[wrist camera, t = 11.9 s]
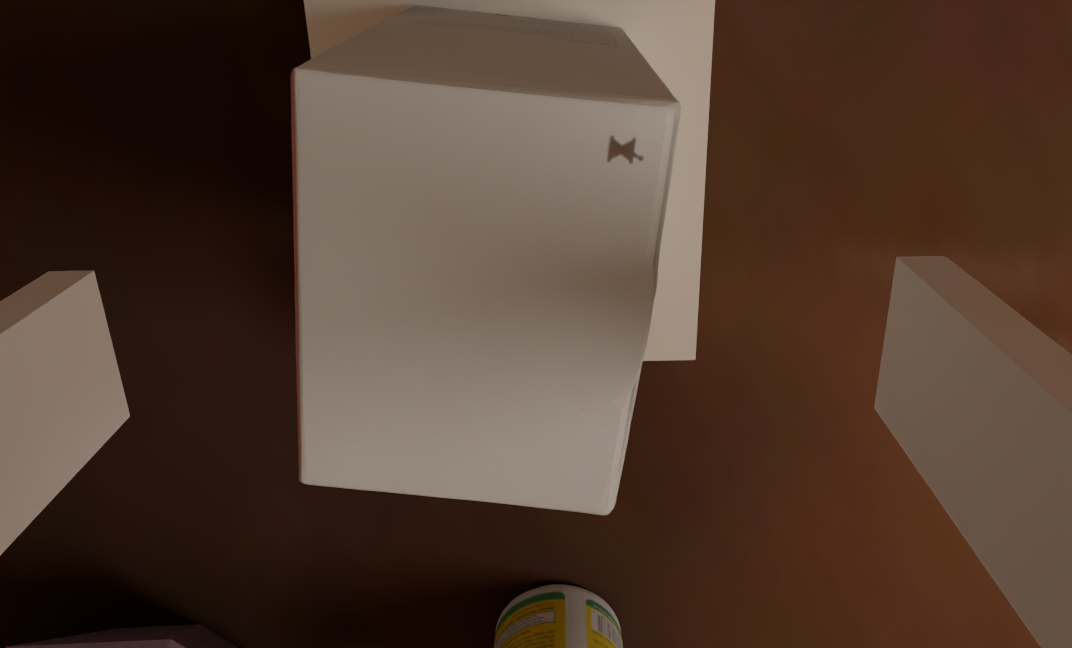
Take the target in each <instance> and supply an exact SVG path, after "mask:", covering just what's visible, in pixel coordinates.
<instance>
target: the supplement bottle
mask: <svg viewBox="0 0 1072 648" xmlns="http://www.w3.org/2000/svg"><path fill="white" fill-rule="evenodd" d="M494 648H623V644H622V636H621V629H620V625H619V622H618V619H617V617H616V615H615V613H614V612H613V610H612V609H611V607H610V606H609V605H608V604H607V603H606V602H605V601H604V600H603V599H601V598H600V597H599V596H598V595H596V594H594V593H592V592H590V591H588V590H586V589H583V588H580V587H576V586H572V585H563V584H554V585H546V586H542V587H539V588H535V589H532V590H529V591H527V592H524V593H523V594H521V595H519V596H518V597H516V598H515V599H513V600H512V601H511V602H510V603H509V604H508V605H507V606H506V608H505V609H504V610H503V612H502V613H501V615H500V617H499V620H498V623H497V626H496V632H495V640H494Z"/></svg>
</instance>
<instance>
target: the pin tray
mask: <svg viewBox="0 0 1072 648" xmlns="http://www.w3.org/2000/svg"><path fill="white" fill-rule="evenodd" d="M415 5H423V6H432V7H441V8H450V9H459V10H468V11H476V12H485V13H494V14H502V15H512V16H521V17H530V18H539V19H548V20H558V21H567V22H576V23H585V24H594V25H604V26H613V27H620V28H622V29H623V30H624V31H625V33H626V34H627V36H628V37H629V38H630V39H631V41H632V42H633V43H634V45H635V46H636V47H637V49H638V50H639V51H640V53H641V54H642V55H643V56H644V58H645V59H646V60H647V62H648V63H649V64H650V66H651V67H652V68H653V69H654V71H655V72H656V73H657V75H658V76H659V77H660V78H661V80H662V81H663V82H664V84H665V85H666V86H667V87H668V89H669V90H670V92H671V93H672V95H673V96H674V97H675V98H676V99H677V100H678V101H679V103H680V105H681V115H680V123H679V129H678V135H677V142H676V148H675V155H674V162H673V169H672V175H671V182H670V188H669V194H668V200H667V206H666V213H665V220H664V226H663V232H662V239H661V245H660V254H659V264H658V280H657V288H656V294H655V298H654V303H653V310H652V317H651V324H650V330H649V335H648V340H647V345H646V349H645V353H644V357H643V361H663V360H695V357H696V339H697V320H698V302H699V284H700V265H701V247H702V229H703V210H704V192H705V174H706V155H707V137H708V119H709V100H710V82H711V64H712V45H713V27H714V9H715V0H304V6H305V14H306V22H307V30H308V37H309V45H310V53H311V59H313V58H314V57H316V56H318V55H320V54H322V53H324V52H326V51H328V50H329V49H331V48H333V47H335V46H337V45H339V44H341V43H343V42H345V41H346V40H348V39H350V38H352V37H354V36H356V35H358V34H360V33H362V32H364V31H366V30H368V29H370V28H372V27H374V26H375V25H377V24H379V23H380V22H382V21H384V20H386V19H388V18H390V17H392V16H394V15H397V14H399V13H401V12H403V11H405V10H407V9H409V8H410V7H413V6H415Z"/></svg>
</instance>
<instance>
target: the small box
mask: <svg viewBox="0 0 1072 648" xmlns="http://www.w3.org/2000/svg"><path fill="white" fill-rule="evenodd" d="M680 115H681V105H680V103H679V101H678V100H677V99H676V98H675V97H674V96H673V95H672V93H671V92H670V90H669V89H668V87H667V86H666V85H665V84H664V82H663V81H662V80H661V78H660V77H659V76H658V75H657V73H656V72H655V71H654V69H653V68H652V67H651V66H650V64H649V63H648V62H647V60H646V59H645V58H644V56H643V55H642V54H641V53H640V51H639V50H638V49H637V47H636V46H635V45H634V43H633V42H632V41H631V39H630V38H629V37H628V36H627V34H626V33H625V31H624V30H623V29H622V28H620V27H613V26H604V25H594V24H585V23H576V22H567V21H558V20H548V19H539V18H530V17H521V16H512V15H502V14H494V13H485V12H476V11H468V10H459V9H450V8H441V7H432V6H423V5H415V6H413V7H410V8H409V9H407V10H405V11H403V12H401V13H399V14H397V15H394V16H392V17H390V18H388V19H386V20H384V21H382V22H380V23H379V24H377V25H375V26H374V27H372V28H370V29H368V30H366V31H364V32H362V33H360V34H358V35H356V36H354V37H352V38H350V39H348V40H346V41H345V42H343V43H341V44H339V45H337V46H335V47H333V48H331V49H329V50H328V51H326V52H324V53H322V54H320V55H318V56H316V57H314V58H313V59H311V60H309V61H307V62H305V63H303V64H302V65H300V66H298V67H296V68H294V69H293V70H292V71H291V126H292V177H293V219H294V271H295V334H296V366H297V410H298V455H299V481H301V482H302V483H304V484H309V485H318V486H329V487H339V488H349V489H359V490H370V491H382V492H392V493H401V494H412V495H422V496H432V497H442V498H453V499H463V500H474V501H484V502H493V503H502V504H511V505H520V506H529V507H538V508H547V509H556V510H565V511H573V512H582V513H589V514H597V515H608V514H609V513H610V512H611V511H612V510H613V508H614V506H615V503H616V498H617V493H618V488H619V483H620V478H621V473H622V468H623V463H624V458H625V452H626V447H627V442H628V436H629V430H630V424H631V419H632V414H633V409H634V404H635V398H636V393H637V388H638V383H639V377H640V372H641V366H642V362H643V357H644V353H645V349H646V345H647V340H648V335H649V330H650V324H651V317H652V310H653V303H654V298H655V294H656V288H657V280H658V264H659V254H660V245H661V239H662V232H663V226H664V220H665V213H666V206H667V200H668V194H669V188H670V182H671V175H672V169H673V162H674V155H675V148H676V142H677V135H678V129H679V123H680Z"/></svg>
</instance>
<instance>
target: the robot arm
mask: <svg viewBox="0 0 1072 648" xmlns="http://www.w3.org/2000/svg"><path fill="white" fill-rule="evenodd" d="M874 408H875V410H876V411H877V413H878V414H879V416H880V417H881V418H882V420H883V421H884V423H885V424H886V426H887V427H888V428H889V430H890V431H891V433H892V434H893V436H894V437H895V439H896V440H897V441H898V443H899V444H900V446H901V447H902V449H903V450H904V452H905V453H906V454H907V456H908V457H909V459H910V460H911V462H912V463H913V464H914V466H915V467H916V469H917V470H918V472H919V473H920V475H921V476H922V477H923V479H924V480H925V482H926V483H927V485H928V486H929V487H930V489H931V490H932V492H933V493H934V495H935V496H936V498H937V499H938V500H939V502H940V503H941V505H942V506H943V508H944V509H945V511H946V512H947V513H948V515H949V516H950V518H951V519H952V521H953V522H954V523H955V525H956V526H957V528H958V529H959V531H960V532H961V534H962V535H963V536H964V538H965V539H966V541H967V542H968V544H969V545H970V547H971V548H972V549H973V551H974V552H975V554H976V555H977V557H978V558H979V559H980V561H981V562H982V564H983V565H984V567H985V568H986V570H987V571H988V572H989V574H990V575H991V577H992V578H993V580H994V581H995V583H996V584H997V585H998V587H999V588H1000V590H1001V591H1002V593H1003V594H1004V595H1005V597H1006V598H1007V600H1008V601H1009V603H1010V604H1011V606H1012V607H1013V608H1014V610H1015V611H1016V613H1017V614H1018V616H1019V617H1020V618H1021V620H1022V621H1023V623H1024V624H1025V626H1026V627H1027V629H1028V630H1029V631H1030V633H1031V634H1032V636H1033V637H1034V639H1035V640H1036V642H1037V643H1038V644H1039V646H1040V647H1041V648H1072V355H1071V354H1070V353H1068V352H1067V351H1066V350H1065V349H1063V348H1062V347H1061V346H1059V345H1058V344H1057V343H1056V342H1054V341H1053V340H1052V339H1050V338H1049V337H1048V336H1047V335H1045V334H1044V333H1043V332H1041V331H1040V330H1039V329H1038V328H1036V327H1035V326H1034V325H1033V324H1031V323H1030V322H1029V321H1027V320H1026V319H1025V318H1024V317H1022V316H1021V315H1020V314H1018V313H1017V312H1016V311H1015V310H1013V309H1012V308H1011V307H1009V306H1008V305H1007V304H1006V303H1004V302H1003V301H1002V300H1001V299H999V298H998V297H997V296H995V295H994V294H993V293H992V292H990V291H989V290H988V289H986V288H985V287H984V286H983V285H981V284H980V283H979V282H977V281H976V280H975V279H974V278H972V277H971V276H970V275H969V274H967V273H966V272H965V271H963V270H962V269H961V268H960V267H958V266H957V265H956V264H954V263H953V262H952V261H951V260H949V259H948V258H947V257H945V256H922V257H896V264H895V271H894V277H893V284H892V291H891V298H890V304H889V311H888V318H887V324H886V331H885V338H884V345H883V351H882V358H881V365H880V372H879V378H878V385H877V392H876V398H875V405H874ZM129 417H130V414H129V410H128V406H127V402H126V398H125V394H124V390H123V386H122V382H121V378H120V374H119V369H118V365H117V361H116V357H115V353H114V349H113V345H112V341H111V337H110V333H109V329H108V325H107V321H106V317H105V313H104V309H103V305H102V301H101V297H100V293H99V289H98V284H97V280H96V276H95V272H94V271H49V272H47V273H45V274H44V275H42V276H41V277H39V278H37V279H36V280H34V281H33V282H31V283H29V284H28V285H26V286H24V287H23V288H21V289H20V290H18V291H16V292H15V293H13V294H12V295H10V296H8V297H7V298H5V299H3V300H2V301H0V555H1V554H2V553H3V552H4V551H5V550H6V549H7V548H8V547H9V545H10V544H11V543H12V542H13V541H14V540H15V539H16V538H17V537H18V536H19V535H20V534H21V533H22V532H23V530H24V529H25V528H26V527H27V526H28V525H29V524H30V523H31V522H32V521H33V520H34V519H35V518H36V516H37V515H38V514H39V513H40V512H41V511H42V510H43V509H44V508H45V507H46V506H47V505H48V504H49V503H50V501H51V500H52V499H53V498H54V497H55V496H56V495H57V494H58V493H59V492H60V491H61V490H62V489H63V487H64V486H65V485H66V484H67V483H68V482H69V481H70V480H71V479H72V478H73V477H74V476H75V475H76V474H77V472H78V471H79V470H80V469H81V468H82V467H83V466H84V465H85V464H86V463H87V462H88V461H89V460H90V459H91V457H92V456H93V455H94V454H95V453H96V452H97V451H98V450H99V449H100V448H101V447H102V446H103V445H104V443H105V442H106V441H107V440H108V439H109V438H110V437H111V436H112V435H113V434H114V433H115V432H116V431H117V430H118V428H119V427H120V426H121V425H122V424H123V423H124V422H125V421H126V420H127V419H128V418H129Z"/></svg>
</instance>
